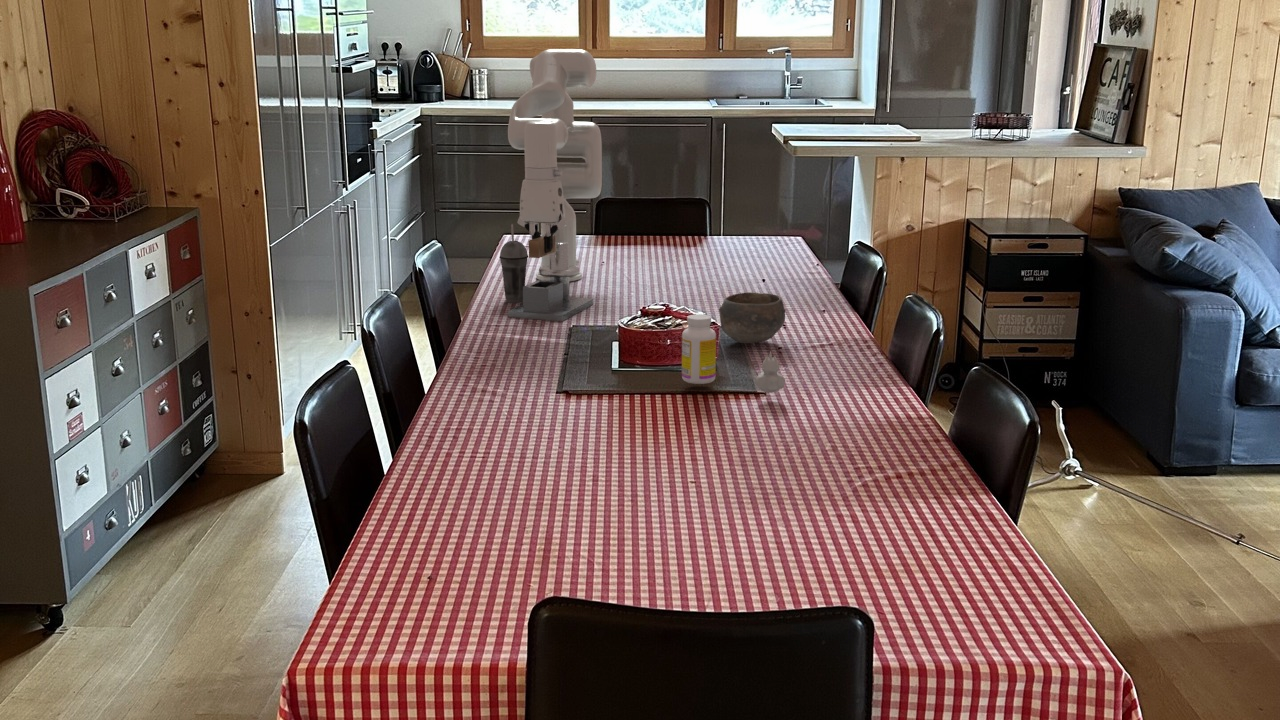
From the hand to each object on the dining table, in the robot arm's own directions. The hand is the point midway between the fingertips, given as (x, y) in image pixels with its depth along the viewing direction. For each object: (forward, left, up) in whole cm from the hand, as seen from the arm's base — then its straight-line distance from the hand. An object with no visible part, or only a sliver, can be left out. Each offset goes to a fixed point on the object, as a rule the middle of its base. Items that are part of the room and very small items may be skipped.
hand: (542, 251), depth 291 cm
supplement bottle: (+42, +52, -16) cm, 69 cm away
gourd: (+46, +67, -16) cm, 83 cm away
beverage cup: (-11, -13, -16) cm, 23 cm away
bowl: (+8, +54, -16) cm, 57 cm away
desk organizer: (-5, 0, -16) cm, 16 cm away
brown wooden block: (+5, 0, +1) cm, 5 cm away
